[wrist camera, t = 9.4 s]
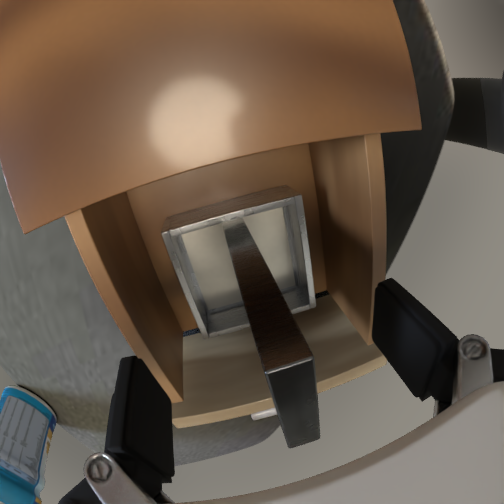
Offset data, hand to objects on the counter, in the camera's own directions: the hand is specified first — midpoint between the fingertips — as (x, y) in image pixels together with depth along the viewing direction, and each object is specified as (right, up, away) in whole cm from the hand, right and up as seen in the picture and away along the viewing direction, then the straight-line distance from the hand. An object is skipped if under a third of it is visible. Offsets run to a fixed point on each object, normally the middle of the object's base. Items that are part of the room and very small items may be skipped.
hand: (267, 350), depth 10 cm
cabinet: (-5, +17, +2) cm, 18 cm away
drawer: (-1, +2, +9) cm, 9 cm away
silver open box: (-1, +4, +7) cm, 8 cm away
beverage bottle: (-29, -15, +12) cm, 35 cm away
